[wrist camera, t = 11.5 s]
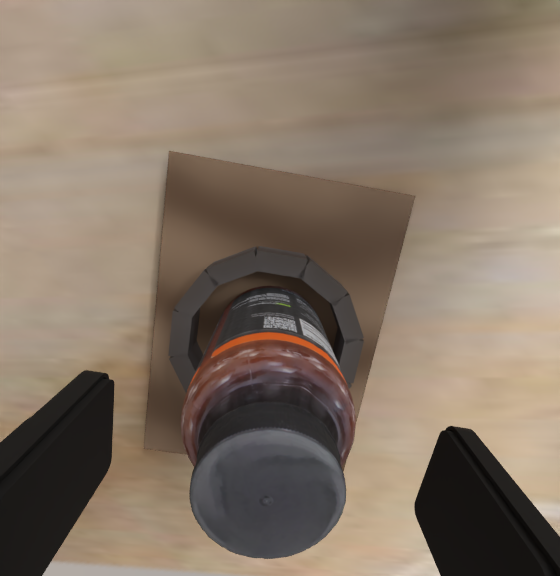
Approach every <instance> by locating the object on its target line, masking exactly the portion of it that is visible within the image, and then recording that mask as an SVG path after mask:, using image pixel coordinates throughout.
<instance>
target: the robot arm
mask: <svg viewBox="0 0 560 576" xmlns="http://www.w3.org/2000/svg"><path fill="white" fill-rule="evenodd" d="M113 407H114V381H113V380H110V379H109V376H108V374H106V373H101V372H94V371H88V370H86V371H83V372H82V373H80V374H79V375H78V376H77V377H76V378H75V379H74V380H72V381H71V382H70V383H69V384H68V385H67V386H66V387H65V388H63V389H62V390H61V391H60V392H59V393H58V394H57V395H56V396H54V397H53V398H52V399H51V400H50V401H49V402H48V403H46V404H45V405H44V406H43V407H42V408H41V409H40V410H39V411H37V412H36V413H35V414H34V415H33V416H32V417H30V418H29V419H27V420H26V421H24V422H23V423H22V424H21V425H20V426H19V427H18V428H16V429H15V430H14V431H13V432H12V433H11V434H10V435H8V436H7V437H6V438H5V439H4V440H3V441H2V442H0V576H42V575H43V573H44V572H45V570H46V568H47V567H48V565H49V564H50V562H51V561H52V559H53V557H54V556H55V554H56V553H57V551H58V549H59V548H60V546H61V545H62V543H63V542H64V540H65V538H66V537H67V535H68V534H69V532H70V530H71V529H72V527H73V526H74V524H75V522H76V521H77V519H78V518H79V516H80V515H81V513H82V511H83V510H84V508H85V507H86V505H87V503H88V502H89V500H90V499H91V497H92V496H93V494H94V492H95V491H96V489H97V488H98V486H99V484H100V483H101V481H102V480H103V478H104V476H105V475H106V473H107V471H108V469H109V466H110V463H111V458H112V433H113ZM415 515H416V518H417V520H418V522H419V525H420V527H421V530H422V532H423V534H424V537H425V539H426V542H427V544H428V546H429V549H430V551H431V554H432V556H433V558H434V561H435V563H436V566H437V568H438V570H439V573H440V575H441V576H560V537H559V535H558V534H557V533H556V532H555V531H554V529H553V528H552V527H551V526H550V524H549V523H548V522H547V521H546V520H545V518H544V517H543V516H542V515H541V513H540V512H539V511H538V510H537V508H536V507H535V506H534V505H533V504H532V502H531V501H530V500H529V499H528V497H527V496H526V495H525V494H524V492H523V491H522V490H521V489H520V488H519V486H518V485H517V484H516V483H515V481H514V480H513V479H512V478H511V476H510V475H509V474H508V473H507V472H506V470H505V469H504V468H503V467H502V465H501V464H500V463H499V462H498V460H497V459H496V458H495V457H494V456H493V454H492V453H491V452H490V451H489V449H488V448H487V447H486V446H485V445H484V443H483V442H482V441H481V440H480V438H479V437H478V436H477V435H476V433H475V432H474V431H473V430H471V429H467V428H460V427H454V426H449V427H448V428H446V430H444V431H442V432H441V433H440V435H439V437H438V440H437V443H436V446H435V448H434V451H433V454H432V457H431V459H430V462H429V465H428V468H427V470H426V473H425V476H424V478H423V481H422V484H421V487H420V489H419V492H418V495H417V498H416V500H415Z"/></svg>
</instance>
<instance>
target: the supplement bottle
mask: <svg viewBox="0 0 560 576" xmlns="http://www.w3.org/2000/svg"><path fill="white" fill-rule="evenodd" d="M355 420H356V417H355V409H354V403H353V399H352V396H351V393H350V390H349V388H348V386H347V383H346V381H345V379H344V376H343V373H342V371H341V369H340V367H339V364H338V362H337V360H336V357H335V355H334V353H333V350H332V348H331V345H330V343H329V341H328V338H327V336H326V334H325V331H324V329H323V326H322V324H321V321H320V319H319V317H318V316H317V314H316V312H315V310H314V309H313V307H312V306H311V304H310V303H309V302H308V301H307V300H306V299H305V298H303V297H302V296H301V295H299V294H298V293H296V292H295V291H292V290H289V289H287V288H283V287H280V286H260V287H255V288H252V289H249V290H247V291H245V292H243V293H242V294H240V295H239V296H237V297H236V298H235V299H234V300H233V301H232V302H231V303H230V304H229V305H228V306H227V308H226V309H225V310H224V312H223V314H222V315H221V317H220V319H219V321H218V324H217V326H216V328H215V330H214V332H213V334H212V337H211V339H210V341H209V343H208V346H207V348H206V350H205V352H204V354H203V357H202V359H201V361H200V363H199V365H198V367H197V369H196V371H195V374H194V376H193V379H192V381H191V383H190V386H189V388H188V390H187V393H186V396H185V399H184V403H183V407H182V414H181V435H182V440H183V444H184V448H185V450H186V452H187V455H188V457H189V459H190V461H191V463H192V464H193V466H194V470H193V473H192V478H191V484H190V503H191V508H192V512H193V514H194V516H195V519H196V520H197V522H198V524H199V525H200V526H201V528H202V530H204V531H205V533H206V534H207V535H208V537H210V538H211V539H212V540H214V541H215V542H216V543H217V544H219V545H220V546H222V547H224V548H226V549H227V550H229V551H231V552H233V553H236V554H239V555H243V556H247V557H252V558H264V559H273V558H281V557H288V556H292V555H294V554H297V553H300V552H302V551H304V550H306V549H308V548H310V547H312V546H313V545H315V544H317V543H318V542H319V541H321V540H322V539H323V538H325V537H326V536H327V534H328V533H329V532H330V531H331V530H332V528H333V527H334V526H335V525H336V524H337V522H338V520H339V518H340V516H341V514H342V511H343V508H344V505H345V501H346V485H345V478H344V474H343V470H342V466H343V464H344V462H345V461H346V459H347V457H348V454H349V452H350V450H351V447H352V444H353V440H354V434H355V425H356V423H355Z"/></svg>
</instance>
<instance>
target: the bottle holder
mask: <svg viewBox="0 0 560 576" xmlns="http://www.w3.org/2000/svg"><path fill="white" fill-rule="evenodd" d="M414 199H415V196H412V195H407V194H401V193H396V192H390V191H385V190H379V189H374V188H369V187H363V186H358V185H352V184H347V183H341V182H336V181H330V180H325V179H320V178H314V177H309V176H303V175H298V174H292V173H287V172H281V171H276V170H270V169H265V168H260V167H254V166H249V165H243V164H238V163H232V162H227V161H221V160H216V159H211V158H205V157H200V156H194V155H189V154H183V153H178V152H172V151H169V159H168V170H167V182H166V194H165V206H164V217H163V229H162V241H161V253H160V264H159V276H158V288H157V299H156V311H155V323H154V335H153V346H152V358H151V370H150V382H149V393H148V405H147V417H146V429H145V440H144V449H150V450H158V451H165V452H173V453H180V454H187V452H186V450H185V448H184V444H183V440H182V435H181V414H182V407H183V403H184V399H185V396H186V393H187V390H188V388H189V386H190V383H191V381H192V379H193V376H194V374H195V371H196V369H197V367H198V365H199V363H200V361H201V359H202V357H203V354H204V352H205V350H206V348H207V346H208V343H209V341H210V339H211V337H212V334H213V332H214V330H215V328H216V326H217V324H218V321H219V319H220V317H221V315H222V314H223V312H224V310H225V309H226V308H227V306H228V305H229V304H230V303H231V302H232V301H233V300H234V299H235V298H236V297H237V296H239V295H240V294H242V293H243V292H245V291H247V290H249V289H252V288H255V287H260V286H280V287H283V288H287V289H289V290H292V291H295V292H296V293H298V294H299V295H301V296H302V297H303V298H305V299H306V300H307V301H308V302H309V303H310V304H311V306H312V307H313V309H314V310H315V312H316V314H317V316H318V317H319V319H320V321H321V324H322V326H323V329H324V331H325V334H326V336H327V338H328V341H329V343H330V345H331V348H332V350H333V353H334V355H335V357H336V360H337V362H338V364H339V367H340V369H341V371H342V373H343V376H344V379H345V381H346V383H347V386H348V388H349V390H350V393H351V396H352V399H353V403H354V409H355V417H356V420H355V423H356V421H357V417H358V413H359V410H360V406H361V402H362V398H363V394H364V390H365V387H366V383H367V379H368V375H369V371H370V367H371V364H372V360H373V356H374V352H375V348H376V344H377V341H378V337H379V333H380V329H381V325H382V322H383V318H384V314H385V310H386V306H387V302H388V299H389V295H390V291H391V287H392V283H393V279H394V276H395V272H396V268H397V264H398V260H399V256H400V253H401V249H402V245H403V241H404V237H405V233H406V230H407V226H408V222H409V218H410V214H411V211H412V207H413V203H414ZM345 463H346V461H345V462H344V464H343V466H342V470H343V471H344V467H345Z"/></svg>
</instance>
